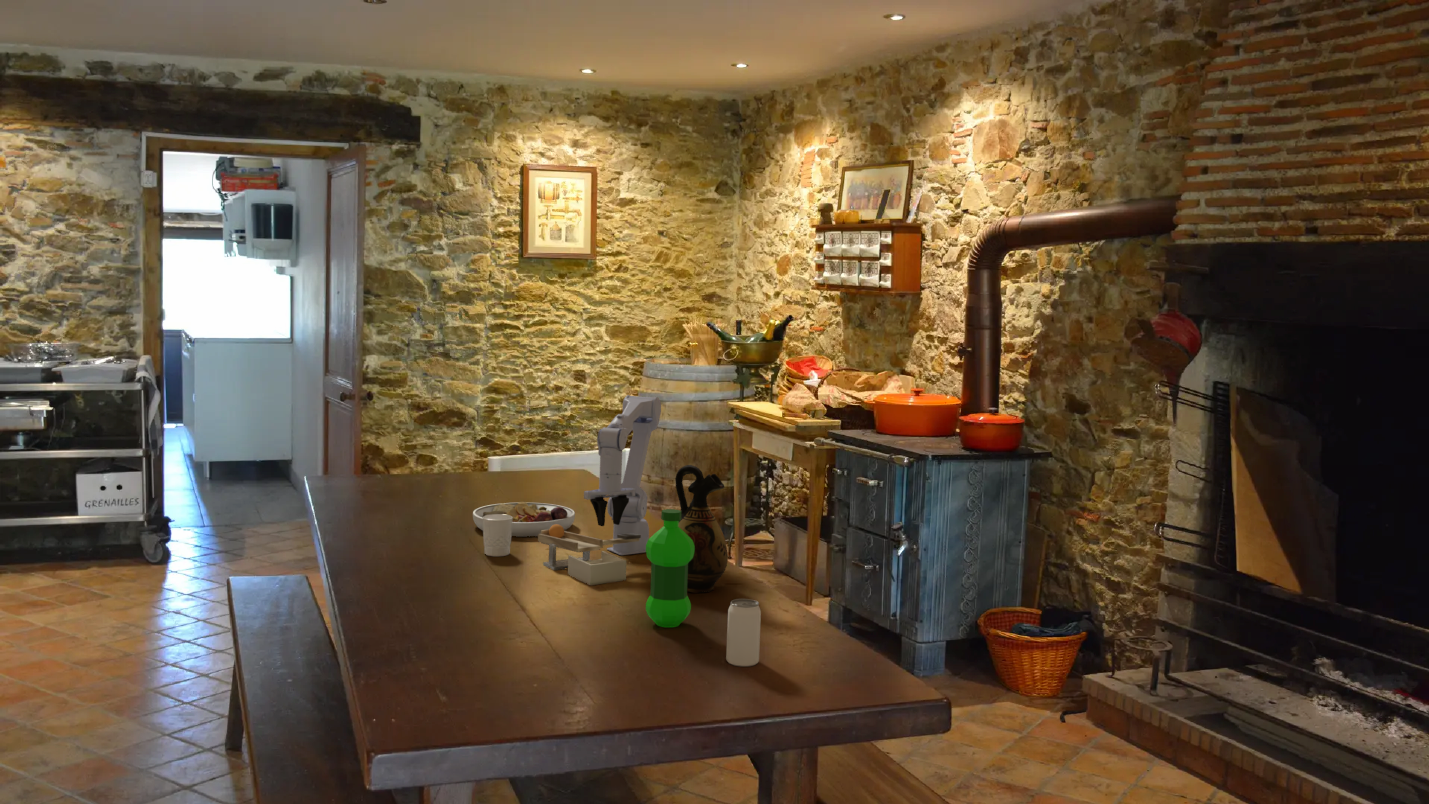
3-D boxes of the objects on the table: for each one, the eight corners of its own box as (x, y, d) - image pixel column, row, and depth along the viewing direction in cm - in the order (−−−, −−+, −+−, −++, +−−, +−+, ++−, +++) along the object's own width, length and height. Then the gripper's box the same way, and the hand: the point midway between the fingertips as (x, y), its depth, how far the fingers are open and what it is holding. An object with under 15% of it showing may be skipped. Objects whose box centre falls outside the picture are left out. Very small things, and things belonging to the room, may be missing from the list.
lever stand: (583, 560, 298) (584, 537, 297) (595, 565, 293) (595, 542, 292) (543, 565, 290) (543, 542, 290) (554, 570, 286) (554, 547, 285)
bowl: (452, 532, 326) (452, 505, 325) (508, 514, 354) (508, 489, 353) (541, 544, 315) (542, 516, 314) (592, 525, 343) (593, 499, 342)
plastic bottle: (674, 634, 237) (678, 518, 235) (634, 624, 243) (638, 511, 240) (700, 623, 246) (704, 511, 243) (660, 614, 251) (664, 504, 249)
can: (724, 656, 224) (726, 597, 223) (756, 656, 225) (759, 598, 223) (727, 667, 218) (730, 607, 216) (760, 667, 218) (763, 607, 217)
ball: (560, 538, 299) (559, 523, 300) (567, 538, 296) (566, 523, 296) (546, 540, 297) (545, 525, 297) (553, 540, 294) (552, 524, 294)
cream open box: (602, 570, 288) (603, 551, 287) (625, 580, 279) (626, 560, 278) (567, 574, 282) (568, 555, 281) (590, 585, 273) (590, 565, 272)
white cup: (505, 558, 296) (505, 521, 295) (477, 555, 298) (478, 518, 297) (516, 551, 304) (517, 515, 303) (489, 549, 306) (489, 513, 305)
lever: (600, 536, 308) (600, 523, 308) (641, 545, 291) (641, 532, 291) (538, 543, 297) (538, 530, 297) (577, 553, 280) (577, 539, 280)
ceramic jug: (734, 584, 279) (739, 465, 276) (714, 599, 265) (719, 474, 262) (671, 576, 285) (675, 459, 282) (648, 590, 270) (652, 468, 267)
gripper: (594, 477, 285) (592, 529, 286) (642, 474, 294) (640, 525, 295) (580, 473, 291) (578, 524, 292) (628, 470, 299) (626, 520, 300)
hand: (608, 524), depth 294 cm, fingers open, 4 cm apart
